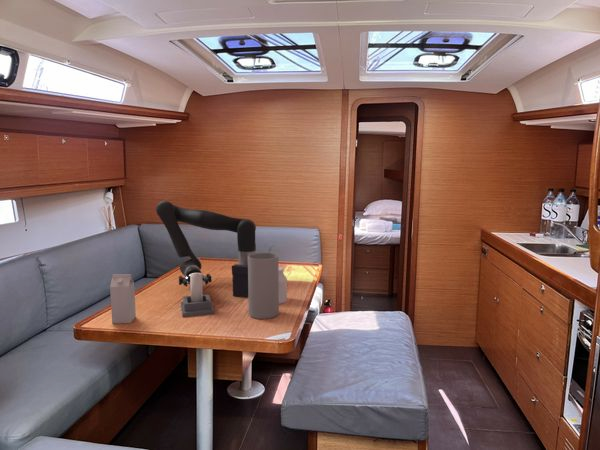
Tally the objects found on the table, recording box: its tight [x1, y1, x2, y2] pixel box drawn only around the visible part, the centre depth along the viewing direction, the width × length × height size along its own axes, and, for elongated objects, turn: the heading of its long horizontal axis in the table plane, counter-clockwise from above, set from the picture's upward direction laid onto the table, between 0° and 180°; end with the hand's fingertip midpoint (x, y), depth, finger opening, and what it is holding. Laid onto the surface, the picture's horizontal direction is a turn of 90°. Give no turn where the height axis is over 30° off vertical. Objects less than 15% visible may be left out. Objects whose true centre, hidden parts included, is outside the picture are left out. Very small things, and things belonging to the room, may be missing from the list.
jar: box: [279, 266, 288, 305], centre depth 200 cm, size 12×10×15 cm
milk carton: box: [109, 273, 137, 324], centre depth 174 cm, size 7×7×19 cm
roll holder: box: [180, 294, 216, 318], centre depth 189 cm, size 13×16×4 cm
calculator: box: [231, 263, 249, 299], centre depth 206 cm, size 11×4×15 cm, turn 71°
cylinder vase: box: [247, 252, 280, 320], centre depth 181 cm, size 12×12×25 cm
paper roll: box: [189, 272, 204, 303], centre depth 188 cm, size 5×5×14 cm
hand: (196, 283), depth 191 cm, fingers open, 8 cm apart
